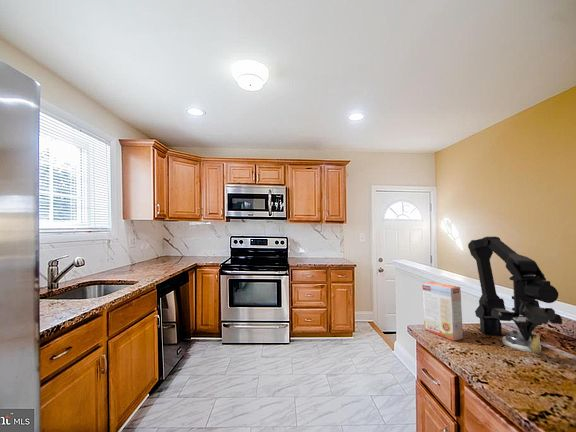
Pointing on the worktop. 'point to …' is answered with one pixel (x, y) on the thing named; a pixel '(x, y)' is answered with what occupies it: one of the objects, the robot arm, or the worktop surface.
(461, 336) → the cracker box
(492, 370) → the worktop surface
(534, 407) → the worktop surface
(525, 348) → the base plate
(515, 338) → the grey piece
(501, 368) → the worktop surface
